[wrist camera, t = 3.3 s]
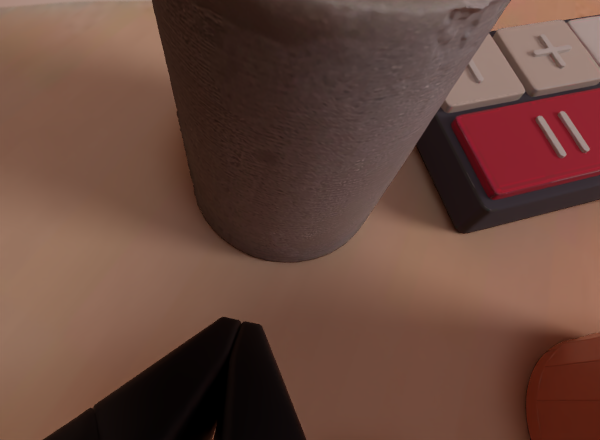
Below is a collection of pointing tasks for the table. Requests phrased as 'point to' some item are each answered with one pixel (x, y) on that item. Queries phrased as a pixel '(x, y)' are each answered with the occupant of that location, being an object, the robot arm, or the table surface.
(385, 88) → the pillar candle
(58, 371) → the table surface
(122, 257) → the table surface
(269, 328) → the table surface
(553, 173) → the calculator
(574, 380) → the pen pot
